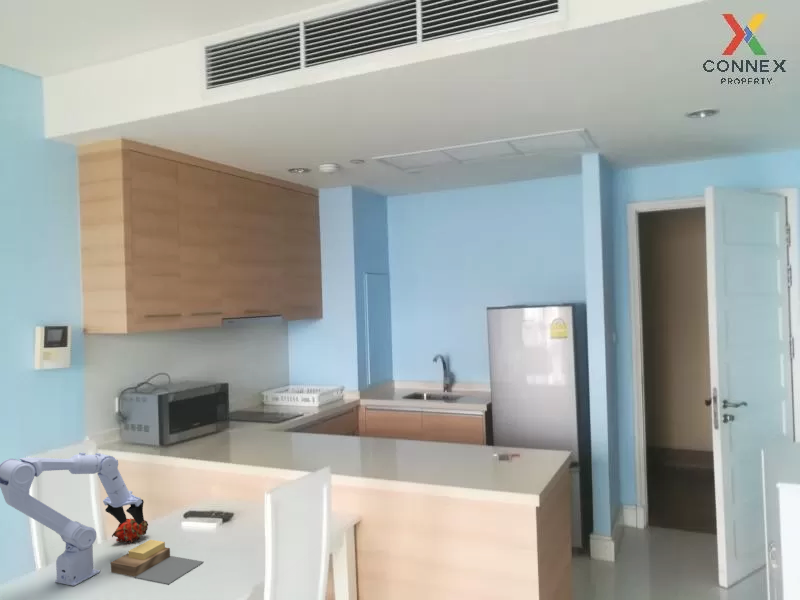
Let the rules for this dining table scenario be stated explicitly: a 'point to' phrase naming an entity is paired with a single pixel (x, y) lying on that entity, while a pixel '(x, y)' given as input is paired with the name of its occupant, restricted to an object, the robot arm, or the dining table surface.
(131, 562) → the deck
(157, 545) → the yellow rectangular block
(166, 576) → the mat
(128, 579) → the dining table surface
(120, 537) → the dragon fruit
